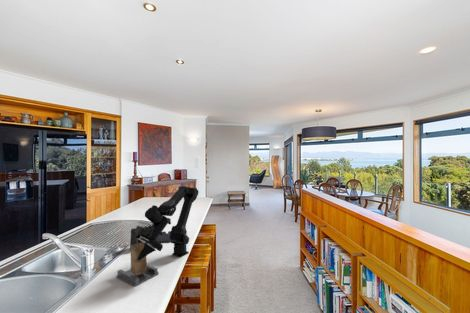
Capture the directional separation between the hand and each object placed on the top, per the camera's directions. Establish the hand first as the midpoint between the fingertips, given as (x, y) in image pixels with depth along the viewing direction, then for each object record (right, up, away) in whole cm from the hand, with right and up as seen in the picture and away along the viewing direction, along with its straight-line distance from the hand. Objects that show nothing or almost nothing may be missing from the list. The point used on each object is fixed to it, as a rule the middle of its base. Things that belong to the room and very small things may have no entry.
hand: (135, 258), depth 105 cm
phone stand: (-13, -9, +33) cm, 37 cm away
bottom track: (0, -9, +2) cm, 9 cm away
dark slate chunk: (-5, -9, +48) cm, 49 cm away
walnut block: (+1, -7, +1) cm, 7 cm away
